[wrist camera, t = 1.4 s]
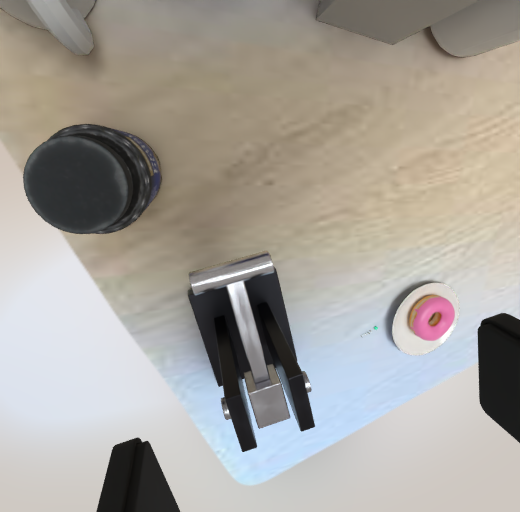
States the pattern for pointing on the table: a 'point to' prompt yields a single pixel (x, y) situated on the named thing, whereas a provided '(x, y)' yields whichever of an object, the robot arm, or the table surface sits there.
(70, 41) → the cup
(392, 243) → the table surface
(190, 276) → the flush lever
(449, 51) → the can
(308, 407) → the lever bracket
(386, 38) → the perfume bottle
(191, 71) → the table surface
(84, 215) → the pill bottle
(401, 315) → the donut
